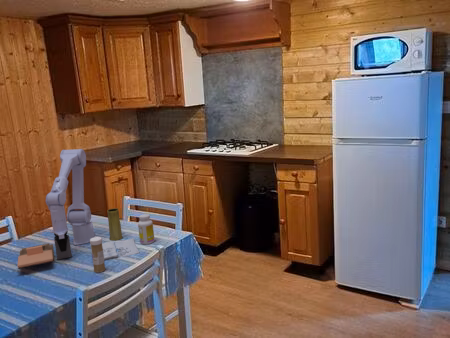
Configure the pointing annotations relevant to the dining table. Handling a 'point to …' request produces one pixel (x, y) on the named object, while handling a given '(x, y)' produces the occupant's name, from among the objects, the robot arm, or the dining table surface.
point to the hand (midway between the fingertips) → (63, 249)
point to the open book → (124, 249)
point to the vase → (114, 224)
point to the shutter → (35, 256)
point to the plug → (66, 253)
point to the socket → (45, 248)
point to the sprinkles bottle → (97, 254)
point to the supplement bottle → (145, 229)
